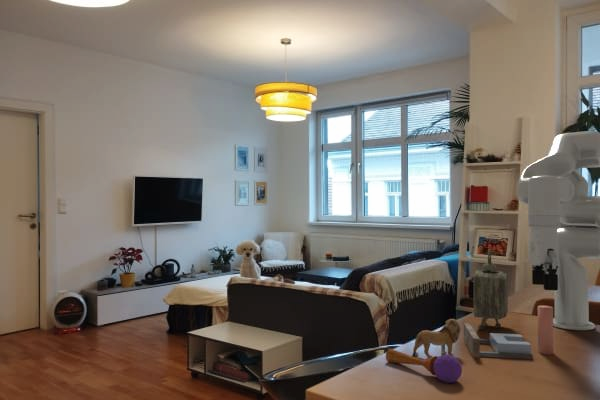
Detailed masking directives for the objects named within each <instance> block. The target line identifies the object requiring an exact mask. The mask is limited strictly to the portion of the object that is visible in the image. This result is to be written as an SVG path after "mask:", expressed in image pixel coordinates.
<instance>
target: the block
mask: <svg viewBox="0 0 600 400" xmlns="http://www.w3.org/2000/svg"><path fill="white" fill-rule="evenodd" d="M489 339H490V344H489V345H490V346H491V348H492V349H493V350H494V352H502V353H522V354H532V344H531V343H530V342H529V341H524V337H523V335H521V334H519V333H518V334H517V333H495V332H489Z"/></svg>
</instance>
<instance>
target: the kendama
mask: <svg viewBox="0 0 600 400" xmlns="http://www.w3.org/2000/svg"><path fill="white" fill-rule="evenodd" d="M385 359H386V361H387V362H388V363H394V364H403V365H414V366H415V365H416V366H423V367H424V368H425V370H427V372H429V373H430V374H431V375H432V376H436V378H437V379H438V380H439V381H441V382H443V383H446V384H451V383H455V382H457V381H458V380H459V379H460V378H461V376H462V372H463V368H462V364H461V362H460V360H459V359H458V358H456V357H455V356H451V355H448V353H446V354H442V355H439V356H432V358H427V359H424V360H422V359H420V358H417V357H415V356H414V357H412V355H409V354H406V353H403V352H402V351H398V350H396V349H393V348H388V349H387V350H386V353H385Z"/></svg>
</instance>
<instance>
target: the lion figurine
mask: <svg viewBox="0 0 600 400" xmlns="http://www.w3.org/2000/svg"><path fill="white" fill-rule="evenodd" d="M460 331H461V325H460V322H459V321H458V319H455V318H449V319H447V320H446V321H445V325H443V326H442V328H441V329H440V330H437V331H435V330H434V331H433V330H426V329H424V330H421V331H419V333H418V334H417V335H416V338H415V340H414V346H413V352H412V355H411V356H412V357H415V356H419V352H417V350H418V349H419V348H420V347H422V346H423V347H424V350H423V352H424V354H425V356H426V357H427V359H429V358H432V357H433V355H430V354H429V351H430V347H431V345H433V346H440V348H441V349H440V350H441V352H440V353H441V354H442V355H445V354H447V355H451V356H454V354H453V353H452V351H453V344H456V342H457V341H458V340H459V336H460V333H461V332H460ZM446 348H447V350H446ZM446 351H447V352H446ZM454 357H455V356H454Z"/></svg>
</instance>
